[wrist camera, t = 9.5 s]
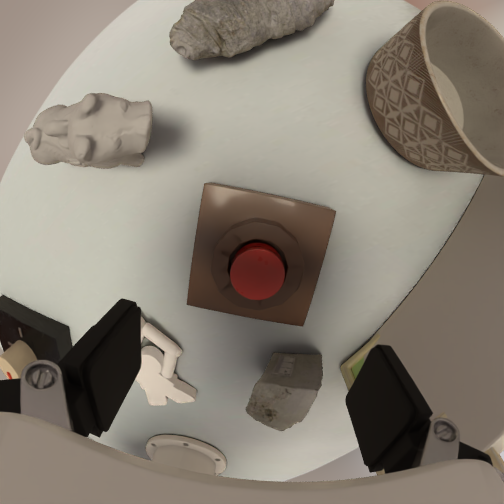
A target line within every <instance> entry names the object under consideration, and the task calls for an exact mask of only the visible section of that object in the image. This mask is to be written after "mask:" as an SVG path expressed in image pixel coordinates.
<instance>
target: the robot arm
mask: <svg viewBox="0 0 504 504" xmlns="http://www.w3.org/2000/svg"><path fill="white" fill-rule="evenodd" d="M141 364H142V357H141V309H140V307H137V304H136V302H133V301H130V300H126V299H120V300H119V301H118V302H117V303H116V304H115V305H114V306H113V307H112V308H111V309H110V310H109V311H108V312H107V313H106V314H105V315H104V316H103V317H102V318H101V320H100V321H99V322H98V323H97V324H96V325H94V326H92V327H91V328H90V329H89V330H88V331H87V332H86V333H85V334H84V336H83V337H82V338H81V339H80V340H79V341H78V342H77V343H76V344H75V345H74V346H73V347H72V348H71V350H70V351H69V352H68V353H67V354H66V355H65V356H64V357H63V358H62V360H61V361H60V362H59V363H58V364H57V365H56V364H55V363H53V362H51V361H48V360H36V361H33V362H31V363H29V364H28V365H26V366H25V367H24V369H23V370H22V373H21V378H17V379H8V380H0V504H504V473H503V472H501V471H500V470H498V469H497V468H496V467H494V468H493V463H492V460H491V457H490V456H489V455H488V454H486V453H484V452H482V451H480V450H478V449H476V448H473V447H471V446H469V445H467V444H465V443H463V442H460V432H459V429H458V427H457V426H456V425H455V424H454V423H453V422H452V421H451V420H449V419H447V418H443V417H438V418H435V419H434V420H432V421H430V419H429V418H430V417H431V416H432V414H433V412H432V410H431V409H430V407H429V405H428V404H427V402H426V400H425V399H424V397H423V395H422V394H421V392H420V390H419V389H418V387H417V386H416V384H415V382H414V381H413V379H412V378H411V376H410V374H409V373H408V371H407V370H406V368H405V367H404V365H403V364H402V362H401V360H400V359H399V357H398V356H397V354H396V353H395V351H394V350H393V348H392V347H391V346H390V345H380V344H378V345H376V346H375V347H374V348H371V350H370V351H369V353H368V355H367V357H366V360H365V362H364V364H363V366H362V367H361V369H360V371H359V373H358V375H357V377H356V379H355V381H354V383H353V385H352V386H351V388H350V390H349V392H348V394H347V396H346V406H347V409H348V412H349V415H350V418H351V421H352V424H353V428H354V431H355V434H356V437H357V441H358V444H359V447H360V450H361V454H362V457H363V461H364V464H365V465H366V466H368V468H369V471H370V472H377V471H382V470H383V469H384V471H385V474H383V475H377V476H370V477H364V478H356V479H347V480H336V481H318V482H274V481H258V480H246V479H237V478H229V477H222V476H216V475H218V474H221V473H222V472H223V471H224V470H225V469H226V458H225V457H224V455H223V454H222V453H221V452H220V451H218V450H217V449H216V448H214V447H212V446H210V445H208V444H206V443H204V442H201V441H198V440H195V439H192V438H188V437H183V436H177V435H159V436H155V437H152V438H150V439H149V440H148V442H147V444H146V448H145V449H146V453H147V454H148V456H149V457H150V458H151V459H152V461H150V460H146V459H143V458H140V457H137V456H134V455H131V454H128V453H125V452H122V451H119V450H116V449H114V448H111V447H108V446H106V445H103V444H101V443H98V442H96V441H93V440H91V439H89V438H87V437H88V435H89V434H90V433H91V434H93V435H95V436H97V437H100V436H101V434H102V432H103V431H105V432H107V431H108V430H109V428H110V426H111V424H112V422H113V420H114V418H115V416H116V414H117V412H118V410H119V409H120V407H121V405H122V403H123V401H124V399H125V397H126V395H127V393H128V391H129V390H130V388H131V386H132V384H133V382H134V380H135V378H136V377H137V375H138V373H139V371H140V369H141Z"/></svg>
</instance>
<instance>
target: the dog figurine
mask: <svg viewBox="0 0 504 504" xmlns="http://www.w3.org/2000/svg"><path fill="white" fill-rule="evenodd" d="M152 118H153V117H152V105H151V103H150V102H149V101H144V102H130V101H128V100H126V99H123V98H118V97H114V96H111V95H109V94H105V93H97V94H95V93H90V94H87V95H86V96H85V97H84V98H83V100H82V101H81V102H79V103H76V104H73V105H71V106H68V107H67V106H65V105H57V106H53V107H50V108H48V109H46V110H44V111H43V112H41V113H40V114H39V115H38V117H37V118H36V121H35V123H34V125H33V128H31V129H29V130H28V131H26V133H25V134H24V139H25V141H26V142H27V143H28V144H29V146H30V150H31V154H32V157H33V159H34V160H35V161H37V162H38V163H40V164H44V165H50V164H56V163H59V162H65V163H70V164H72V165H74V166H79V167H88V166H90V167H91V166H92V167H96V168H103V169H109V168H113V167H116V166H119V165H121V164H123V165H127V166H134V167H139V166H141V165H142V164H143V162H144V156H143V155H142V154H140V153H143V152H144V151H145V149H146V148H147V145H148V142H149V139H150V136H151V129H152Z"/></svg>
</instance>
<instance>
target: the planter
mask: <svg viewBox="0 0 504 504" xmlns="http://www.w3.org/2000/svg"><path fill="white" fill-rule="evenodd" d="M366 91H367V98H368V102H369V106H370V109H371V112H372V114H373V117H374V119H375V121H376V123H377V125H378V127H379V129H380V130H381V132H382V134H383V135H384V137H385V138H386V139H387V141H388V142H389V143H390V144H391V145H392V147H393V148H394V149H395V150H396V151H397V152H398V153H399V154H401V155H402V156H403V157H404V158H406V159H407V160H408V161H410V162H411V163H413V164H415V165H417V166H419V167H421V168H424V169H428V170H433V171H448V172H462V173H474V174H484V175H494V176H502V177H504V38H503V37H502V36H501V34H500V33H499V32H498V31H497V30H496V29H495V28H494V27H493V26H492V25H491V24H490V23H489V22H488V21H487V20H486V19H484V18H483V17H482V16H480V15H479V14H478V13H476V12H475V11H473V10H471V9H470V8H468V7H466V6H464V5H461V4H459V3H455V2H452V1H436V2H433V3H431V4H430V5H428V6H427V7H426V8H425V9H424V10H422V11H421V12H420V13H419V14H418V15H417V16H415V17H414V18H413V19H412V20H411V21H410V22H409V23H407V24H406V25H405V26H404V27H403V28H402V29H401V30H400V31H399V32H398V33H396V34H395V35H394V36H393V37H392V38H391V39H390V40H389V41H388V42H387V43H386V44H385V45H383V46H382V47H381V48H380V49H379V50H378V51H377V52H376V53H375V55H374V56H373V58H372V59H371V61H370V63H369V66H368V70H367V75H366Z"/></svg>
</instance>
